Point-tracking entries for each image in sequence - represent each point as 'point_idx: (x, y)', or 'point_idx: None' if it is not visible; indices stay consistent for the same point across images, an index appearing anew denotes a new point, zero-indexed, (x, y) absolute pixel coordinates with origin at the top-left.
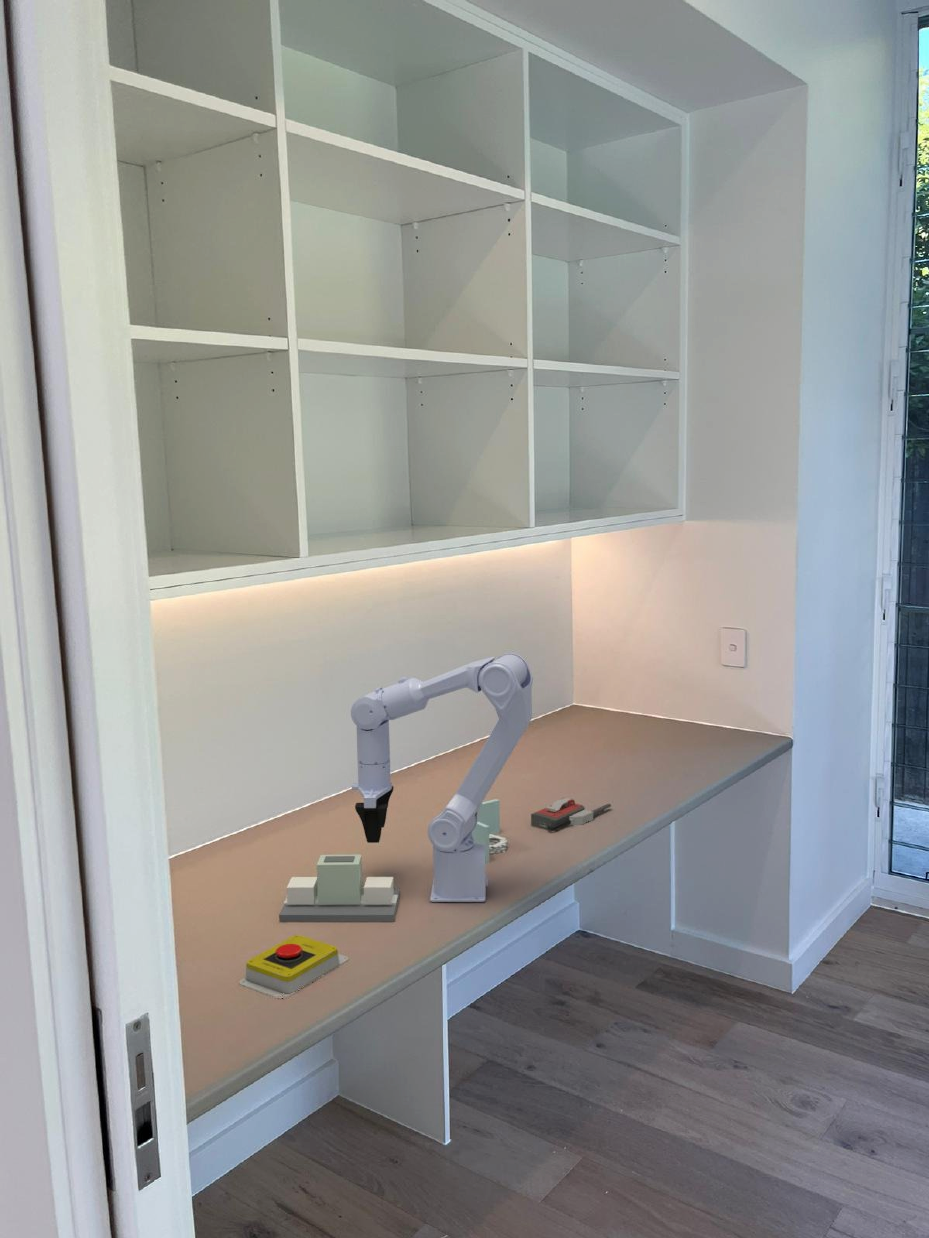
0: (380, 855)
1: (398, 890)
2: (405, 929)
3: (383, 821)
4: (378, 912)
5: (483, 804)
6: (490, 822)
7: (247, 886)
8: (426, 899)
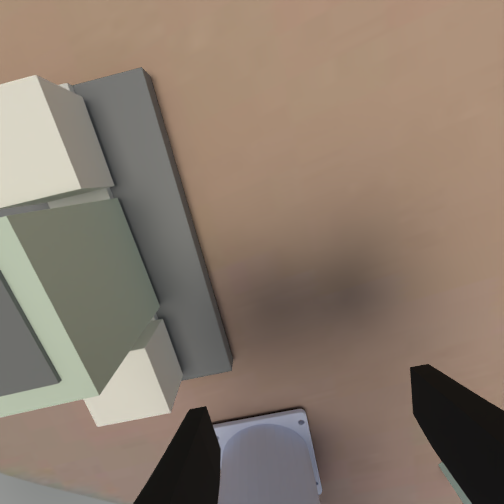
0: (487, 234)
1: (217, 371)
2: (72, 414)
3: (435, 444)
4: None
5: None
6: None
7: None
8: (223, 412)
